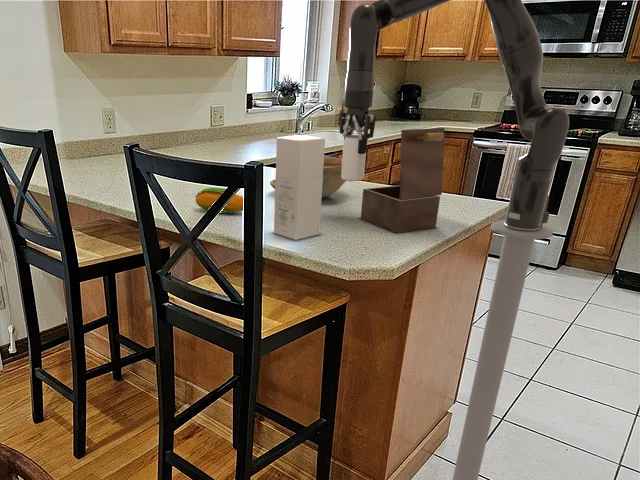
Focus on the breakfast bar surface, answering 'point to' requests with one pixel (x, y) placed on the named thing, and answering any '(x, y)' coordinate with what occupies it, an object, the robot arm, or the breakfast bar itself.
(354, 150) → the can
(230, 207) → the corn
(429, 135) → the chest lid
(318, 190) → the tall white carton
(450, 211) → the breakfast bar surface
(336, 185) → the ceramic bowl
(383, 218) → the chest
